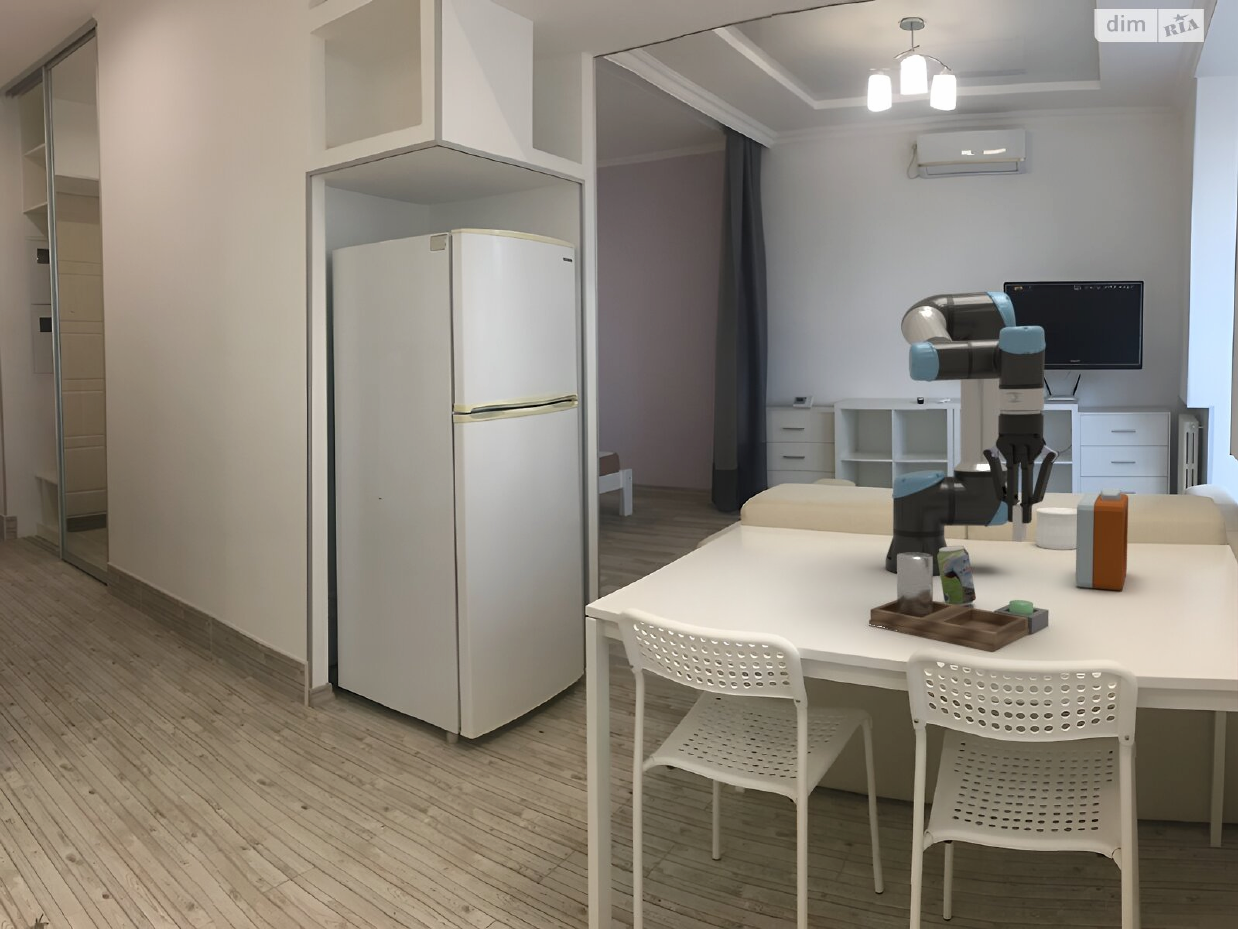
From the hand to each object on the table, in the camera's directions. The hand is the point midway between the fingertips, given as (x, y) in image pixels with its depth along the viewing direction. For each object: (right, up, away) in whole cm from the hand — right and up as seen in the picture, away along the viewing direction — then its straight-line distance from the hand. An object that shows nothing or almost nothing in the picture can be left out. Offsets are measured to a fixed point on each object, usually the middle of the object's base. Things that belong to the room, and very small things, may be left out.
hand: (1019, 540), depth 165 cm
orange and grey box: (+32, -12, +32) cm, 47 cm away
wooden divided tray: (-13, -17, +1) cm, 21 cm away
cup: (+41, -8, +69) cm, 80 cm away
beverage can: (-5, -15, +17) cm, 23 cm away
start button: (+1, -17, +1) cm, 17 cm away
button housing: (+1, -16, +1) cm, 16 cm away
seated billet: (-18, -15, +5) cm, 24 cm away
